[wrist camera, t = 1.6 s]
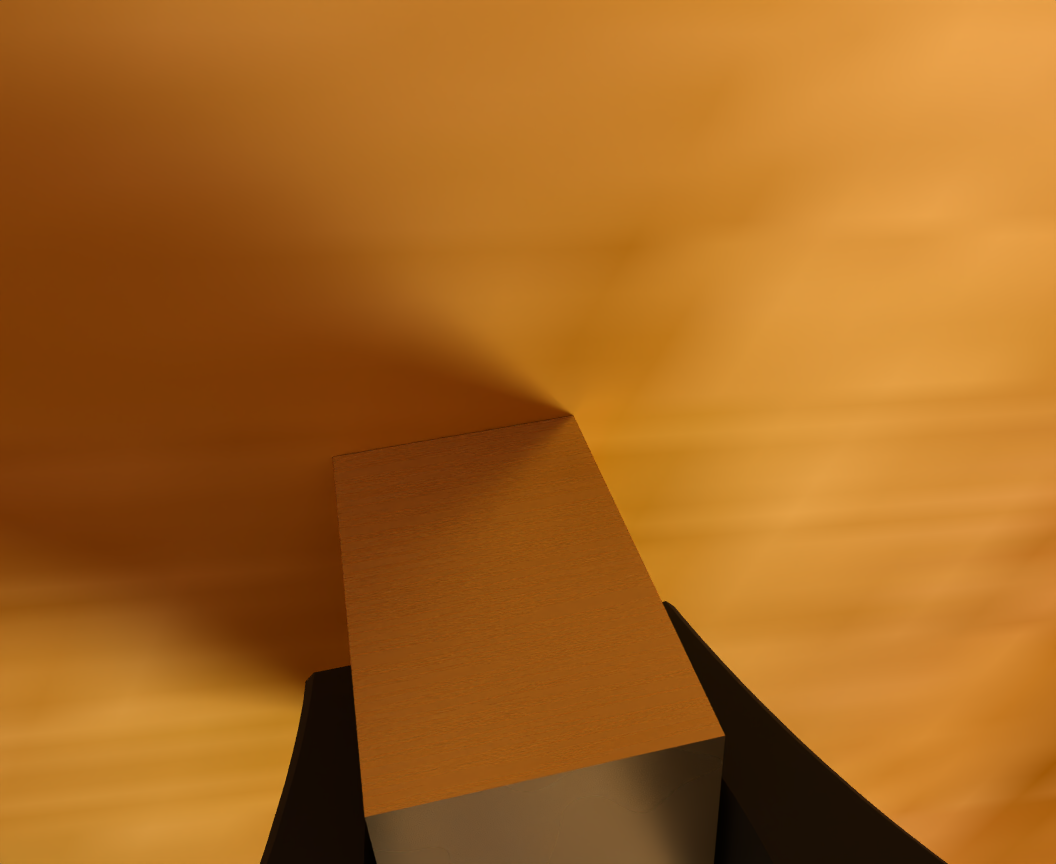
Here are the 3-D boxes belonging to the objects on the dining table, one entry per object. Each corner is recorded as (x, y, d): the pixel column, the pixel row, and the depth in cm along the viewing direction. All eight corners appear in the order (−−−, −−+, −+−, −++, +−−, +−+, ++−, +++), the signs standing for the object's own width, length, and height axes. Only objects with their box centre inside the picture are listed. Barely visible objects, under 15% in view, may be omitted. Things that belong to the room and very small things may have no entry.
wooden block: (583, 684, 15) (699, 1020, 11) (390, 725, 15) (436, 1091, 10) (573, 415, 12) (725, 736, 8) (332, 456, 12) (364, 817, 8)
